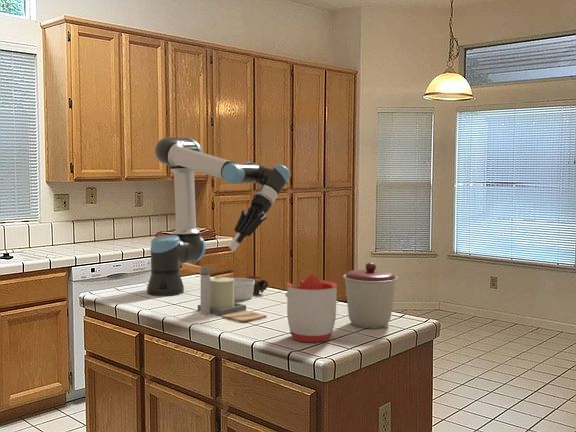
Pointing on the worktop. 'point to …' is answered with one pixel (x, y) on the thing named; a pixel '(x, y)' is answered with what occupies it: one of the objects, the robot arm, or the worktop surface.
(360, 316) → the canister
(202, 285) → the socket
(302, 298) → the citrus juicer
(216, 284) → the can
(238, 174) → the robot arm
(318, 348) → the worktop surface
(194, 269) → the orange bar
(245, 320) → the plate
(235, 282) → the ramekin
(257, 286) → the pottery mug
